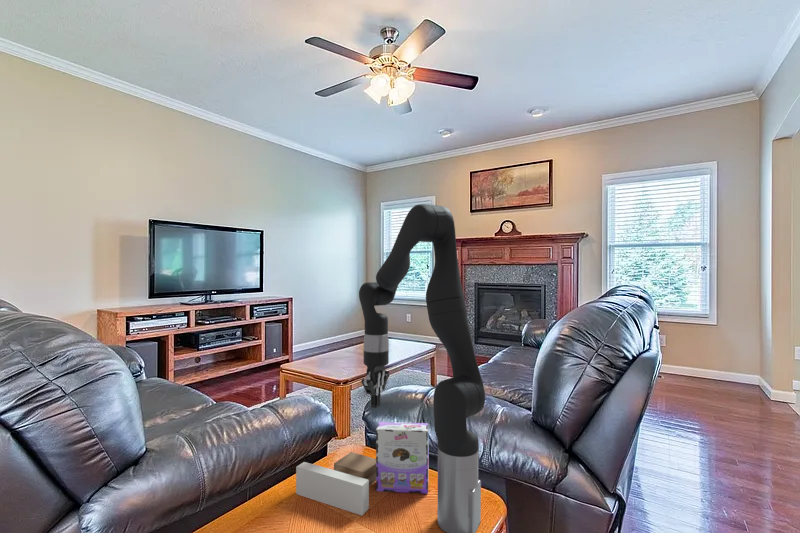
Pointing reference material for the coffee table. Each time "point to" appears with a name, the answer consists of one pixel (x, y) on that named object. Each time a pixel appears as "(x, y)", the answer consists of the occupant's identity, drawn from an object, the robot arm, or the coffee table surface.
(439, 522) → the robot arm
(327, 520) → the coffee table surface
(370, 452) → the coffee table surface
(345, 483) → the painted board
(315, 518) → the coffee table surface
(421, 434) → the candy box
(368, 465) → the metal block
